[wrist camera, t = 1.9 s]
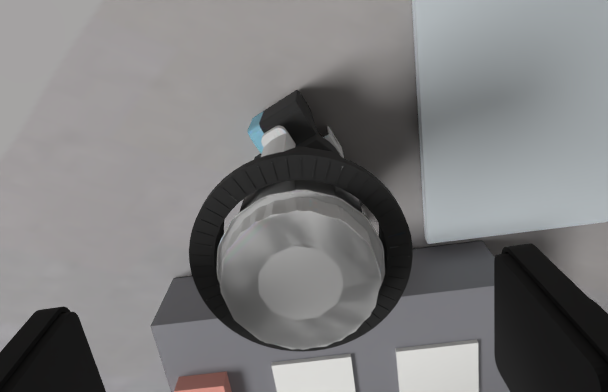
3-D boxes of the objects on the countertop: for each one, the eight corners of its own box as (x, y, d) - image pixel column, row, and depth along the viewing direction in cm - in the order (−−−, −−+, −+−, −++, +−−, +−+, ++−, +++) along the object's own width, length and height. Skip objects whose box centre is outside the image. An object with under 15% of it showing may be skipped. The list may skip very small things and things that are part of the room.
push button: (405, 196, 21) (487, 356, 11) (300, 255, 22) (296, 444, 12) (324, 60, 19) (343, 119, 9) (212, 132, 20) (128, 250, 10)
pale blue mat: (695, -49, 17) (708, -51, 17) (658, 208, 21) (668, 214, 20) (411, -6, 18) (414, -6, 17) (424, 237, 21) (428, 243, 21)
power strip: (482, 236, 21) (522, 290, 17) (482, 381, 24) (517, 455, 20) (172, 274, 22) (142, 335, 18) (210, 410, 25) (192, 487, 21)
